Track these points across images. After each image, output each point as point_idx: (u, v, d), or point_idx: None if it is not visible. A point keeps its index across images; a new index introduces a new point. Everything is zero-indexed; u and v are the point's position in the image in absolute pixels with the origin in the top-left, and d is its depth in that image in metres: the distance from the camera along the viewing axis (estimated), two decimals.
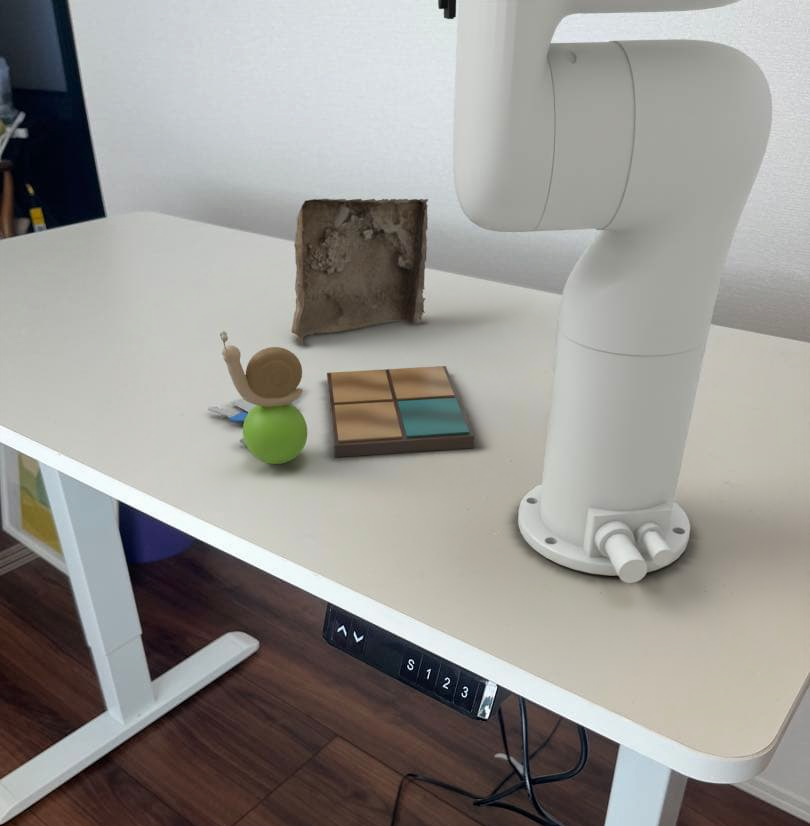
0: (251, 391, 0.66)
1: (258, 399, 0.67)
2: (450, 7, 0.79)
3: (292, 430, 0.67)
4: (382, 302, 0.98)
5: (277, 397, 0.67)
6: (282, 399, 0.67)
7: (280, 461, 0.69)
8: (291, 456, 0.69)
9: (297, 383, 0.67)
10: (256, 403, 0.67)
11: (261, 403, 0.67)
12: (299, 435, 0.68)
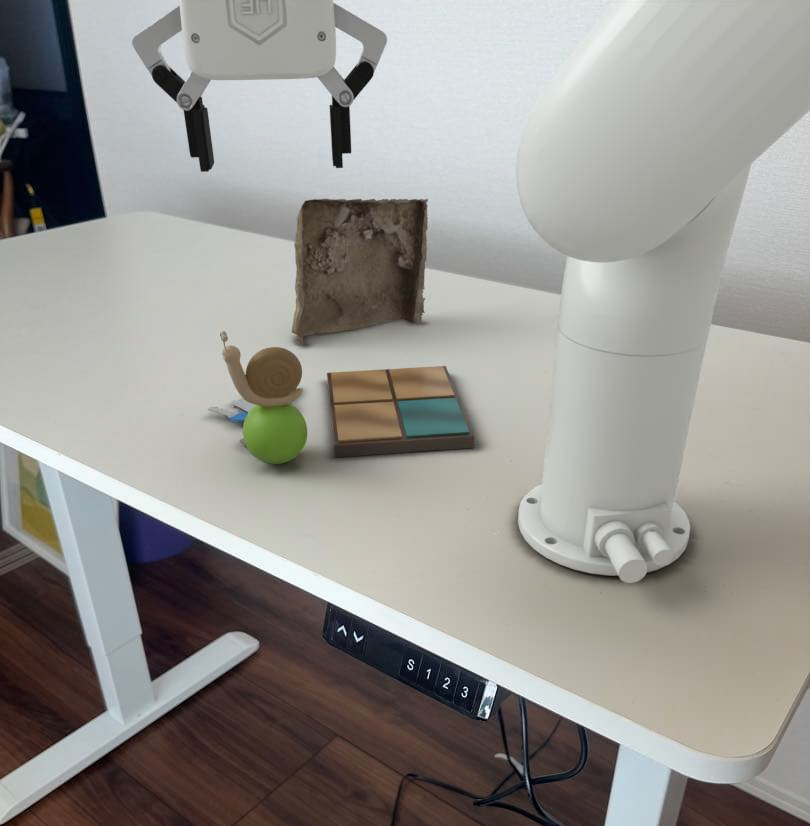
0: (251, 391, 0.66)
1: (258, 399, 0.67)
2: (200, 158, 0.59)
3: (292, 430, 0.67)
4: (382, 302, 0.98)
5: (277, 397, 0.67)
6: (282, 399, 0.67)
7: (280, 461, 0.69)
8: (291, 456, 0.69)
9: (297, 383, 0.67)
10: (256, 403, 0.67)
11: (261, 403, 0.67)
12: (299, 435, 0.68)
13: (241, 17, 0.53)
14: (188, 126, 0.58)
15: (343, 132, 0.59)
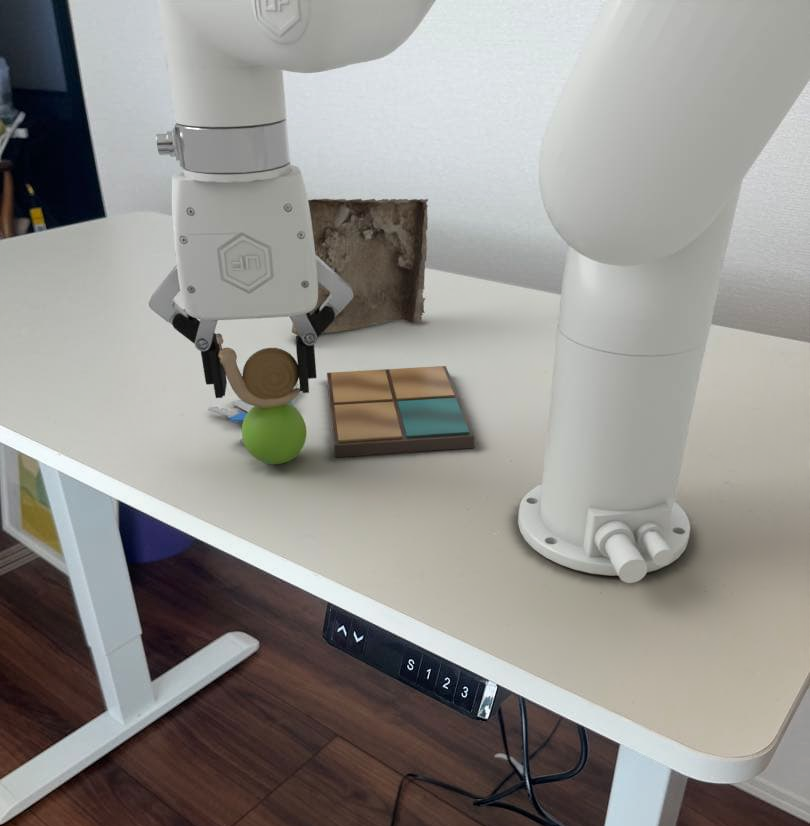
0: (248, 392, 0.66)
1: (255, 401, 0.66)
2: (215, 388, 0.65)
3: (291, 430, 0.67)
4: (382, 302, 0.98)
5: (274, 398, 0.67)
6: (280, 399, 0.67)
7: (280, 461, 0.69)
8: (290, 456, 0.69)
9: (294, 383, 0.66)
10: (254, 404, 0.67)
11: (259, 404, 0.67)
12: (297, 435, 0.68)
13: (232, 272, 0.59)
14: (204, 361, 0.65)
15: (309, 363, 0.66)
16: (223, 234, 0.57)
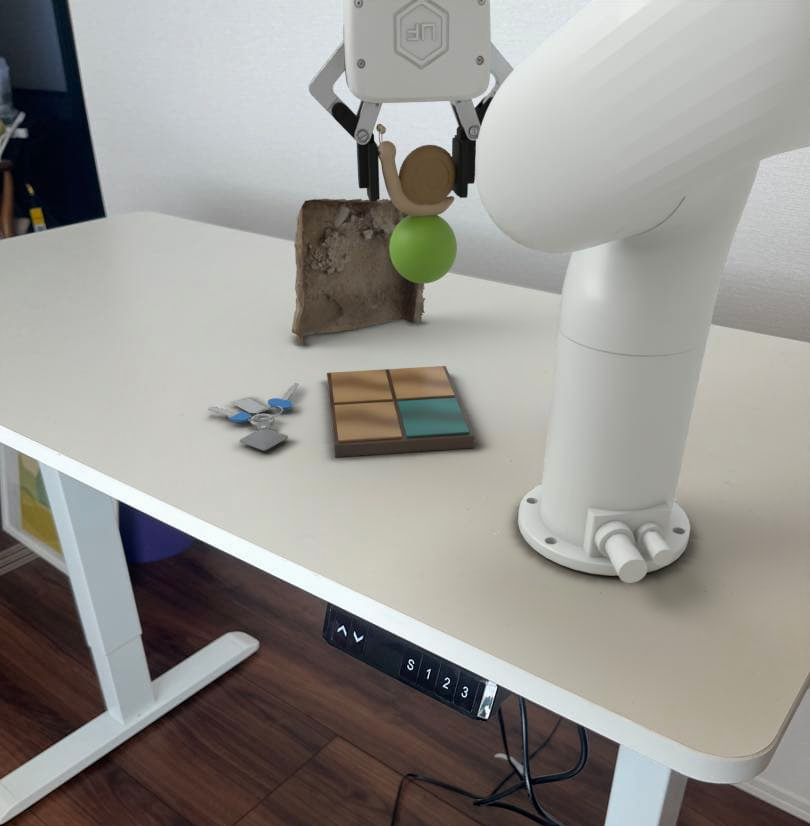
0: (404, 196, 0.62)
1: (410, 206, 0.63)
2: (372, 189, 0.61)
3: (446, 240, 0.64)
4: (382, 302, 0.98)
5: (430, 204, 0.63)
6: (434, 206, 0.63)
7: (430, 277, 0.65)
8: (442, 271, 0.65)
9: (451, 187, 0.63)
10: (408, 210, 0.63)
11: (413, 211, 0.63)
12: (451, 247, 0.64)
13: (406, 43, 0.55)
14: (361, 159, 0.61)
15: (469, 164, 0.62)
16: None
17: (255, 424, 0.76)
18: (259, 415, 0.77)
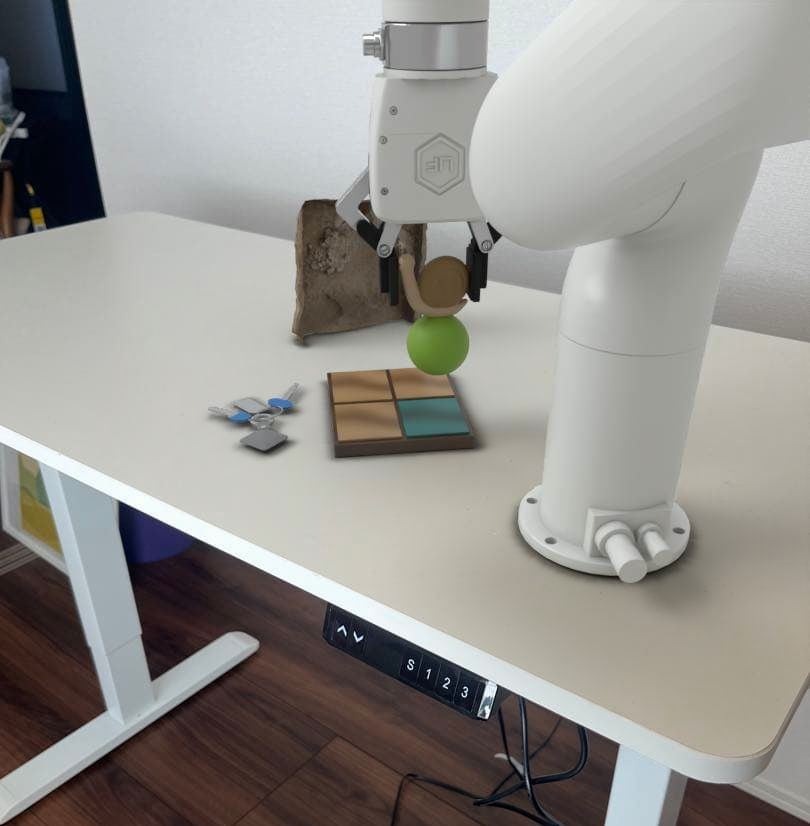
0: (421, 300, 0.68)
1: (427, 309, 0.68)
2: (392, 296, 0.67)
3: (459, 339, 0.69)
4: (382, 302, 0.98)
5: (445, 307, 0.68)
6: (449, 309, 0.69)
7: (445, 372, 0.71)
8: (455, 366, 0.70)
9: (465, 292, 0.68)
10: (425, 312, 0.68)
11: (429, 313, 0.68)
12: (464, 345, 0.70)
13: (426, 173, 0.61)
14: (382, 269, 0.66)
15: (481, 272, 0.67)
16: (422, 134, 0.59)
17: (255, 424, 0.76)
18: (259, 415, 0.77)
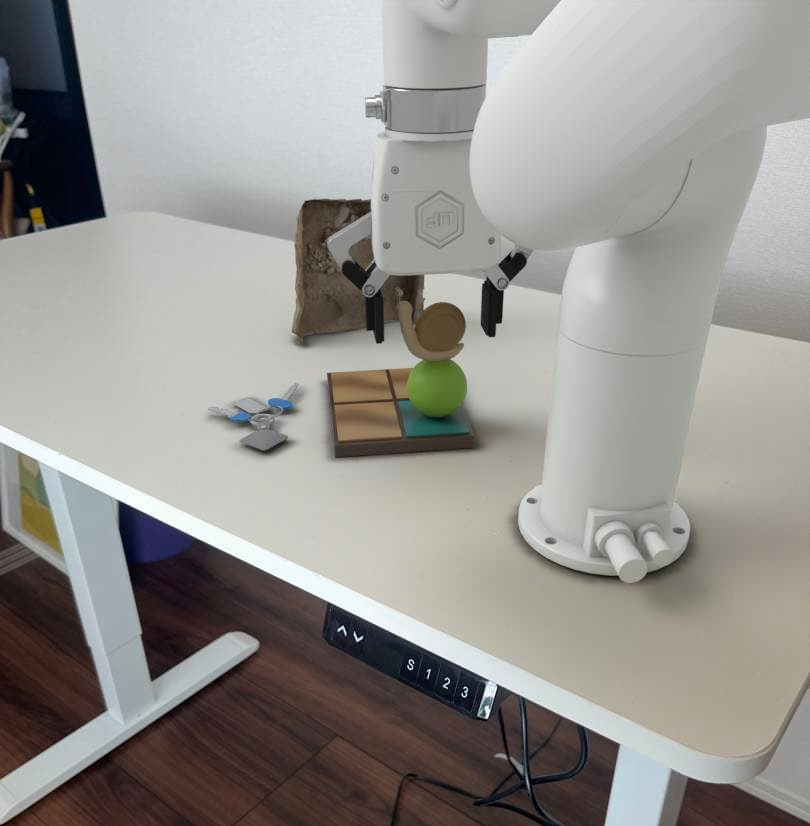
0: (419, 345, 0.71)
1: (425, 353, 0.71)
2: (377, 334, 0.68)
3: (457, 381, 0.72)
4: None
5: (442, 351, 0.71)
6: (447, 353, 0.72)
7: (444, 413, 0.73)
8: (454, 407, 0.73)
9: (461, 336, 0.71)
10: (423, 356, 0.71)
11: (428, 357, 0.71)
12: (462, 387, 0.72)
13: (426, 228, 0.63)
14: (368, 308, 0.68)
15: (497, 308, 0.69)
16: (423, 192, 0.61)
17: (255, 424, 0.76)
18: (259, 415, 0.77)
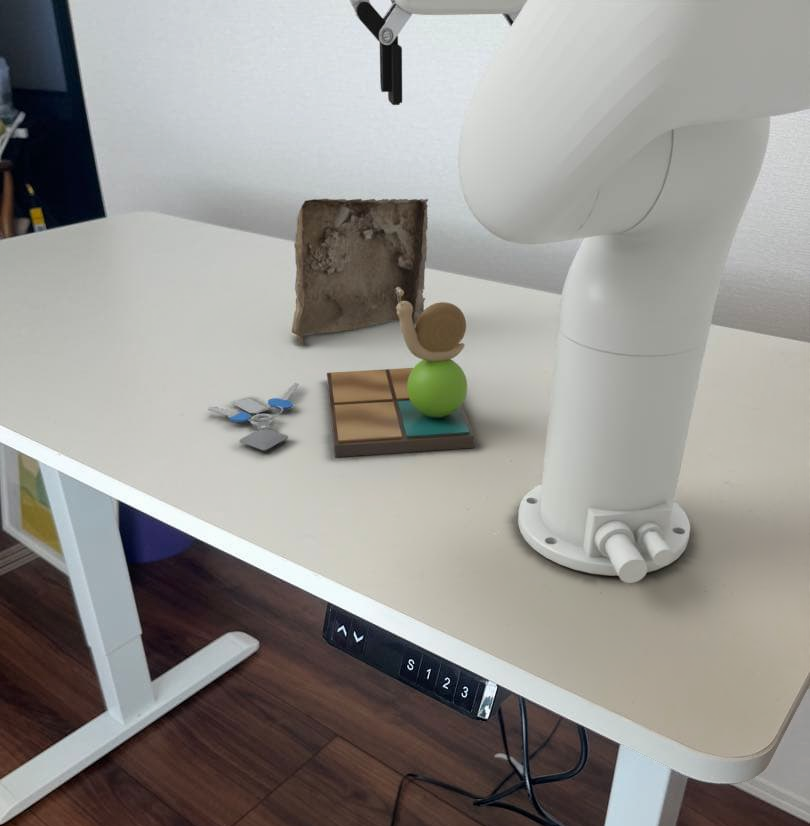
0: (420, 345, 0.71)
1: (425, 353, 0.71)
2: (395, 91, 0.62)
3: (457, 381, 0.72)
4: (382, 302, 0.98)
5: (442, 351, 0.71)
6: (447, 353, 0.72)
7: (444, 413, 0.73)
8: (454, 407, 0.73)
9: (461, 337, 0.71)
10: (423, 357, 0.71)
11: (428, 357, 0.71)
12: (462, 387, 0.72)
13: None
14: (384, 61, 0.62)
15: None
16: None
17: (255, 424, 0.76)
18: (259, 415, 0.77)
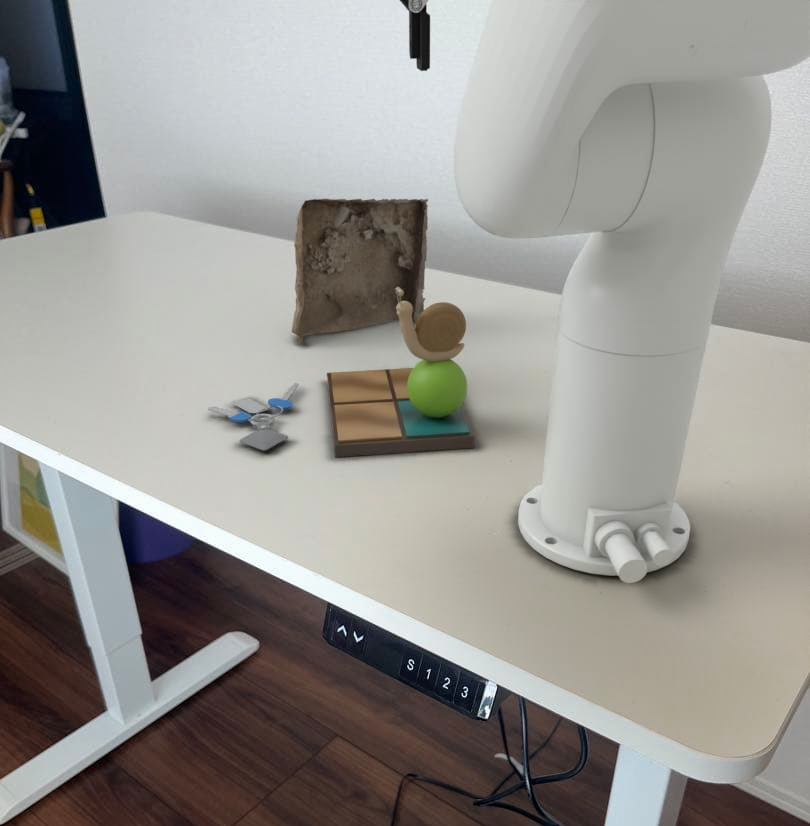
0: (420, 345, 0.71)
1: (425, 353, 0.71)
2: (423, 57, 0.66)
3: (457, 381, 0.72)
4: (382, 302, 0.98)
5: (442, 351, 0.71)
6: (447, 353, 0.72)
7: (444, 413, 0.73)
8: (454, 407, 0.73)
9: (461, 337, 0.71)
10: (423, 357, 0.71)
11: (428, 357, 0.71)
12: (462, 387, 0.72)
13: None
14: (413, 28, 0.66)
15: None
16: None
17: (255, 424, 0.76)
18: (259, 415, 0.77)
